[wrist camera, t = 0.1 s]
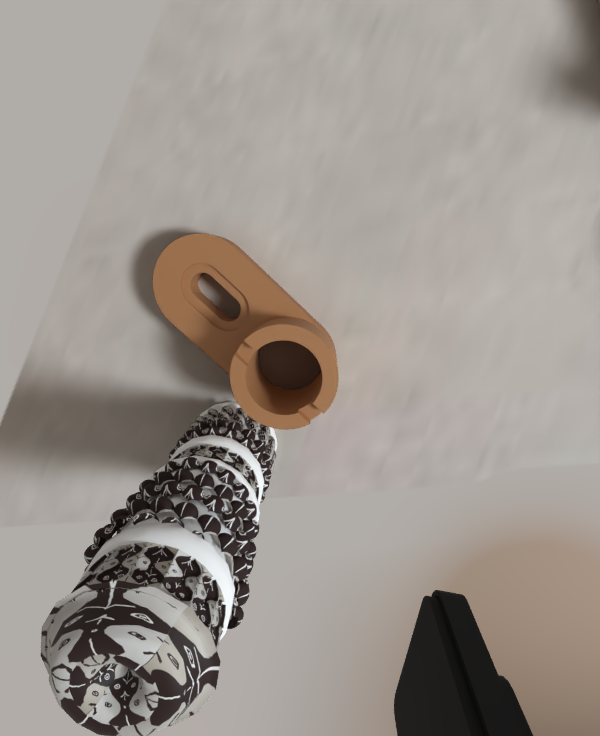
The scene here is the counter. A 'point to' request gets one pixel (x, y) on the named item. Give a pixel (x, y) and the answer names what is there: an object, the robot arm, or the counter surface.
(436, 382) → the counter surface
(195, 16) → the counter surface
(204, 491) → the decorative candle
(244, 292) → the bracket
